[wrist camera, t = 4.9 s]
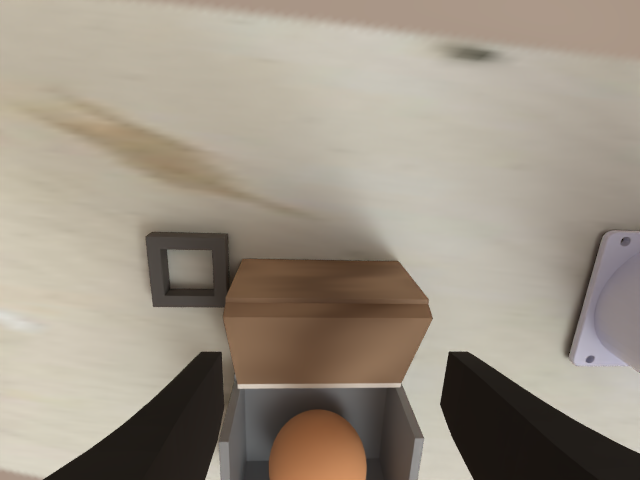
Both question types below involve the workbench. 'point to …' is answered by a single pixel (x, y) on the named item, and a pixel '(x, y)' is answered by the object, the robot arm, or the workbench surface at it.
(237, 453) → the gray open storage bin
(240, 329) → the ramp
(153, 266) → the dark gray picture frame
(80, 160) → the workbench surface
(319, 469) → the ball
